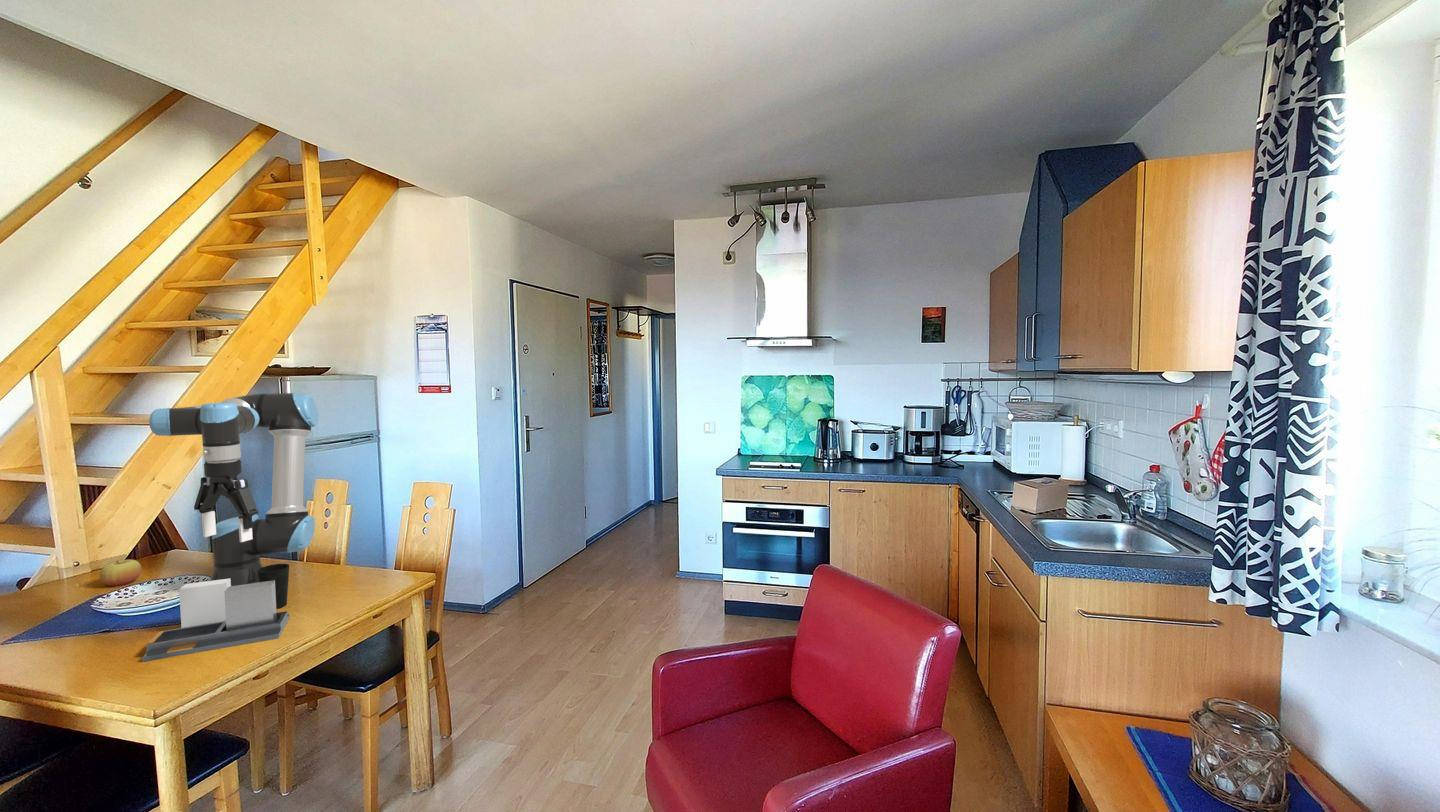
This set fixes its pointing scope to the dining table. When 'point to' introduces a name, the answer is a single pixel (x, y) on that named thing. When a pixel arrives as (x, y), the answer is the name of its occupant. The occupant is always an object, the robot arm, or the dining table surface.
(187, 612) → the block
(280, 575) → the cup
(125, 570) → the apple
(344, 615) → the dining table surface
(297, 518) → the robot arm
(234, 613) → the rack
